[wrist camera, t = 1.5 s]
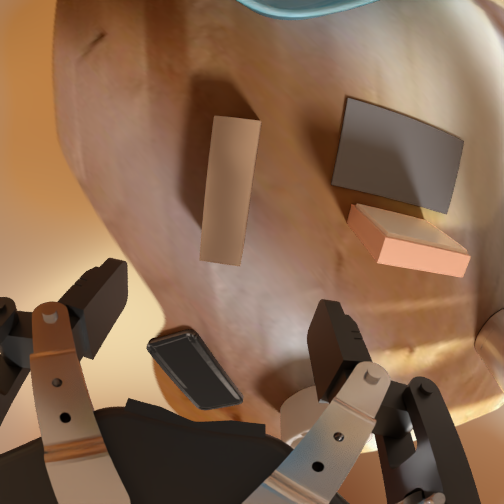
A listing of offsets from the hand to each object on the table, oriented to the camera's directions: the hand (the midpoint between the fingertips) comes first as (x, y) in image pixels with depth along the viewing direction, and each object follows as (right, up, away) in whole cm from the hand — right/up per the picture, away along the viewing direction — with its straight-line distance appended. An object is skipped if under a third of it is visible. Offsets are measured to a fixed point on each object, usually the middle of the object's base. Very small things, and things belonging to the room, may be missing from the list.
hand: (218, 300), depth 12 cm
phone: (-6, -15, +26) cm, 31 cm away
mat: (+16, +11, +13) cm, 24 cm away
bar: (0, +8, +15) cm, 18 cm away
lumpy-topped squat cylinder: (+12, -21, +28) cm, 37 cm away
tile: (+15, +5, +16) cm, 23 cm away
